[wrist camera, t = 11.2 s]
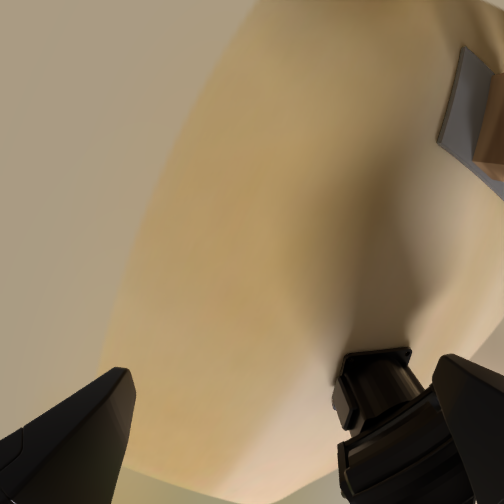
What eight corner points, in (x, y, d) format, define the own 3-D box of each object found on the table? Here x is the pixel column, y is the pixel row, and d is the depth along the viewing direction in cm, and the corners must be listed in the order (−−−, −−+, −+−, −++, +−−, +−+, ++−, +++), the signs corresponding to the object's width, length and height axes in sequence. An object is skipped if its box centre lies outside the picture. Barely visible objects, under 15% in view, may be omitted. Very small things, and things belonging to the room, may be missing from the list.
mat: (525, 114, 16) (529, 114, 16) (505, 202, 19) (509, 203, 18) (461, 47, 15) (465, 46, 14) (436, 143, 18) (441, 143, 17)
